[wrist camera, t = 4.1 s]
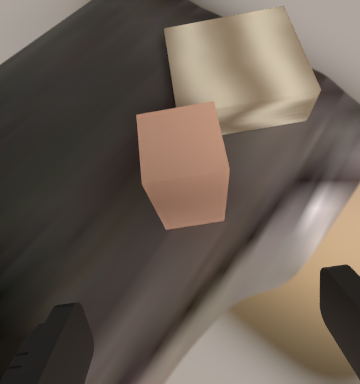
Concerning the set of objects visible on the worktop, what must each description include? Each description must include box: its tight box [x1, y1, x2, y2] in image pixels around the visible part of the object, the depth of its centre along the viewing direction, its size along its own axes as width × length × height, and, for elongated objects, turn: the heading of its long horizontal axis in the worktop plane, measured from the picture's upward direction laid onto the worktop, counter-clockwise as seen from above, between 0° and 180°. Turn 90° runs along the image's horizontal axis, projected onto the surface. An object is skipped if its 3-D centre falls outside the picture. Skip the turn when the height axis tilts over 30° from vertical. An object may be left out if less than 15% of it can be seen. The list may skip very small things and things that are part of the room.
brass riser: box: [164, 6, 321, 135], centre depth 28 cm, size 12×11×4 cm
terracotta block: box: [136, 101, 230, 230], centre depth 21 cm, size 5×5×9 cm
